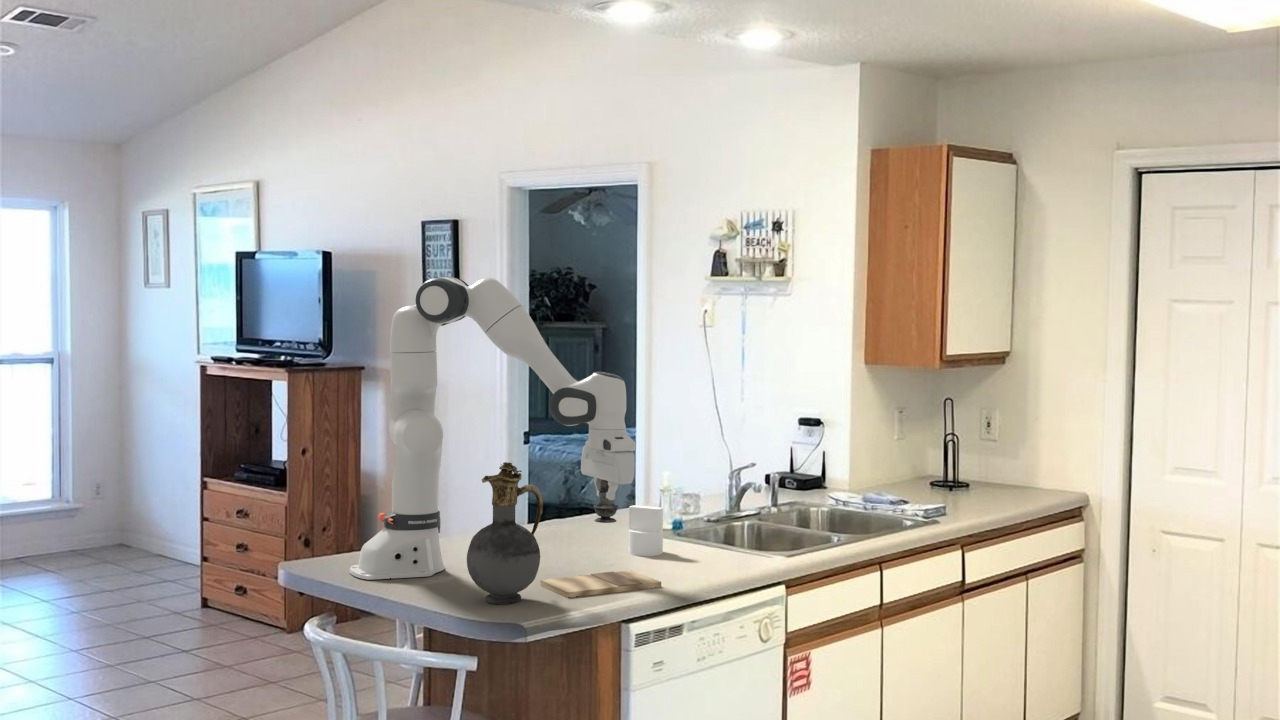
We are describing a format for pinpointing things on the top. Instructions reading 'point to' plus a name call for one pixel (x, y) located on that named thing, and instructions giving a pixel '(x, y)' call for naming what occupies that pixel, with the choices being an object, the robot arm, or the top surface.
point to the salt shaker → (605, 505)
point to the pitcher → (505, 542)
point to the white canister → (645, 530)
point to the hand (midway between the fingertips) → (605, 498)
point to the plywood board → (600, 583)
